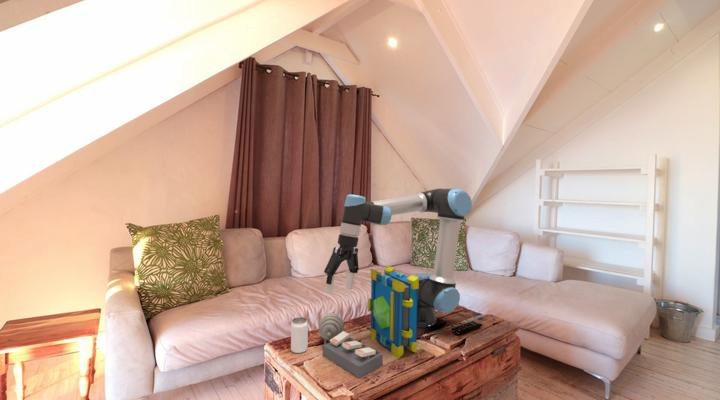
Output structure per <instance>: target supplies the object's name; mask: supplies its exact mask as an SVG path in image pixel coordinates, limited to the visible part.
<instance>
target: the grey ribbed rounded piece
mask: <svg viewBox="0 0 720 400" xmlns="http://www.w3.org/2000/svg"><path fill="white" fill-rule="evenodd" d="M344 329H345V324H344V321H343V319H342V317H341V316H340V315H338V314H337V313H335V312H330V313H327V314H326V315H324V316H323V317H322V318H321V320H320V321H319V323H318V332H319V336H321V338H322V339H323V345H325V344H327V343H328V342H330V340H331V339H332V338H334V337H335V336H337V335H338V334H340V333H341V332H343V331H344Z"/></svg>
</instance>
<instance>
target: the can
mask: <svg viewBox="0 0 720 400" xmlns="http://www.w3.org/2000/svg"><path fill="white" fill-rule="evenodd" d="M291 321H292V322H291V323H290V350H291V352H292V353H294V354H303V353H306V352H307V351H308V344H309V343H308V342H309V340H308V334H309V333H308V330H309V329H308V321H307V318H306V317H303V316H300V317H299V316H297V317H294V318H293V319H292V320H291Z"/></svg>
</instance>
